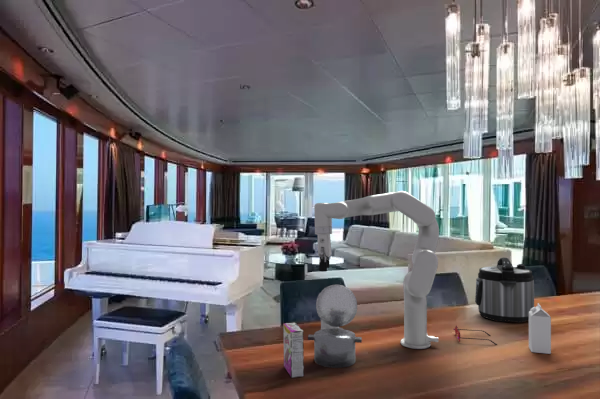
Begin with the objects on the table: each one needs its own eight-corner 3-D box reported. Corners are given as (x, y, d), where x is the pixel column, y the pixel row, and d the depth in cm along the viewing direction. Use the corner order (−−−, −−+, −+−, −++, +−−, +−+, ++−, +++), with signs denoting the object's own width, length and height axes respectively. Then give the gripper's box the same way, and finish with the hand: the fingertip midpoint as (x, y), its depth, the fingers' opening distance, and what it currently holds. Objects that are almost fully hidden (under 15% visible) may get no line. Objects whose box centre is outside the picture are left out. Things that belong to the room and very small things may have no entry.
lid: (357, 327, 179) (357, 327, 181) (357, 285, 182) (357, 285, 184) (315, 325, 181) (316, 325, 183) (316, 283, 184) (317, 283, 186)
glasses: (453, 334, 207) (453, 323, 207) (490, 336, 203) (490, 325, 203) (457, 343, 193) (457, 332, 193) (497, 346, 190) (497, 334, 190)
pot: (362, 353, 179) (362, 328, 179) (361, 369, 162) (361, 342, 162) (311, 350, 183) (311, 326, 183) (305, 366, 166) (305, 339, 166)
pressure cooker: (494, 308, 255) (494, 253, 255) (545, 318, 233) (545, 258, 233) (464, 316, 237) (464, 257, 237) (516, 328, 215) (516, 263, 215)
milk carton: (547, 348, 185) (547, 303, 185) (551, 354, 178) (550, 307, 178) (528, 347, 187) (528, 302, 187) (531, 352, 180) (531, 306, 180)
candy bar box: (282, 366, 165) (282, 323, 165) (295, 365, 166) (295, 322, 167) (290, 378, 154) (290, 331, 154) (304, 376, 156) (304, 330, 156)
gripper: (329, 232, 185) (330, 272, 185) (333, 229, 202) (335, 266, 202) (312, 232, 186) (313, 272, 186) (317, 229, 203) (318, 266, 203)
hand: (324, 269), depth 194 cm, fingers open, 9 cm apart
